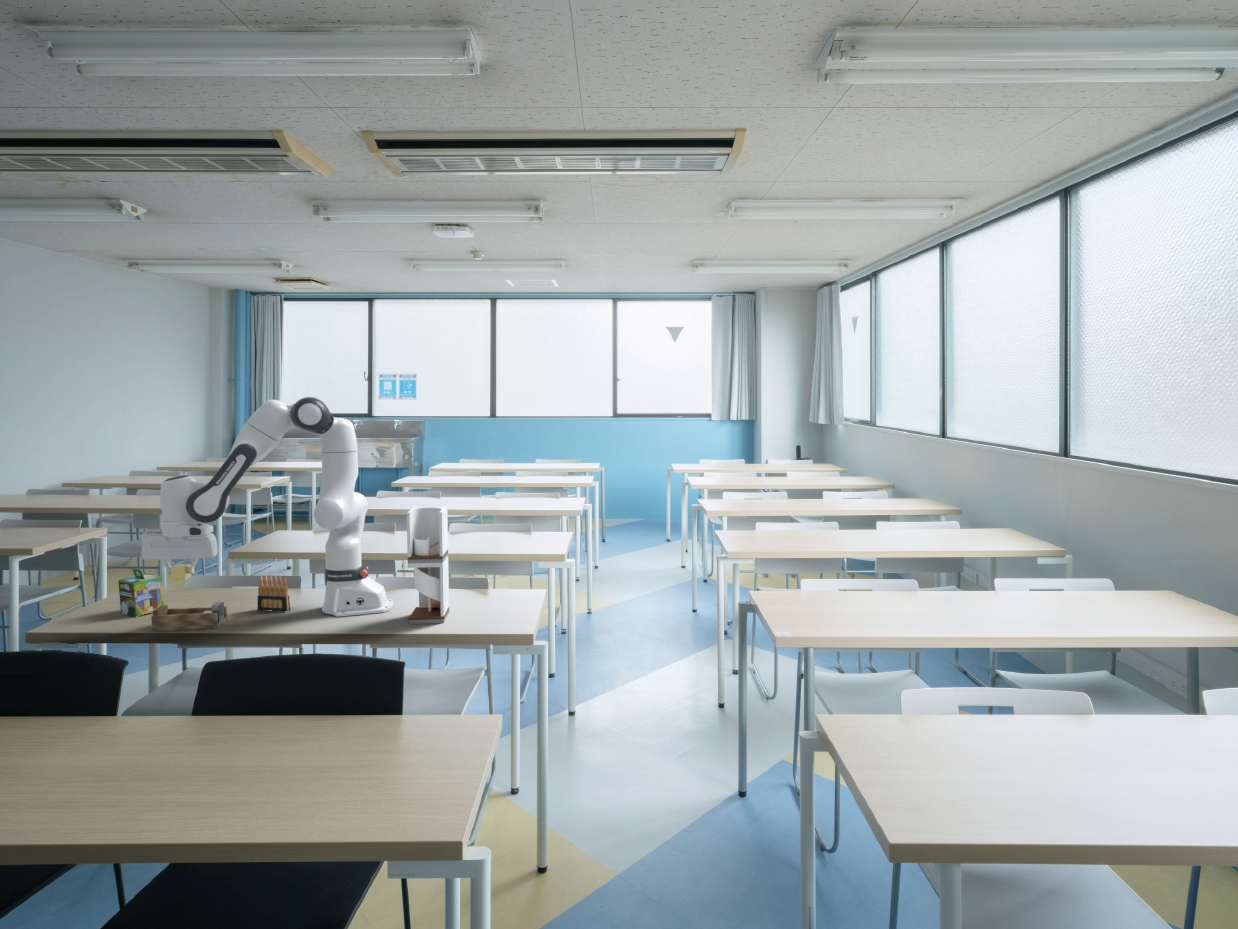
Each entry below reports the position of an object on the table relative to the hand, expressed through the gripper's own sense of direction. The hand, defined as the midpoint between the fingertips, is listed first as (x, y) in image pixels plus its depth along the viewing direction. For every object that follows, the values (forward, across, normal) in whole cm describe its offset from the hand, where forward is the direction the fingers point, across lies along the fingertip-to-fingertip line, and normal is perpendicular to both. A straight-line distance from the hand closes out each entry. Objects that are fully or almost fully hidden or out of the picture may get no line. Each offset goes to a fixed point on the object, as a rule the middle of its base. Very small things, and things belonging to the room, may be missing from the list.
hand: (180, 573), depth 208 cm
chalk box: (+17, -20, +18) cm, 32 cm away
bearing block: (+16, +2, 0) cm, 17 cm away
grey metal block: (+15, +8, 0) cm, 18 cm away
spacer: (+2, 0, 0) cm, 2 cm away
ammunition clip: (+17, +22, +13) cm, 31 cm away
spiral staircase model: (+16, +74, -4) cm, 76 cm away
